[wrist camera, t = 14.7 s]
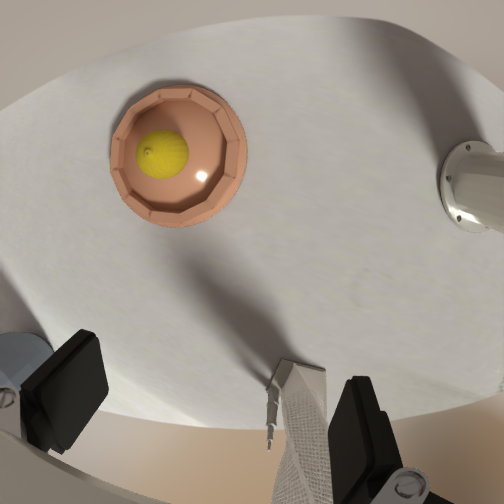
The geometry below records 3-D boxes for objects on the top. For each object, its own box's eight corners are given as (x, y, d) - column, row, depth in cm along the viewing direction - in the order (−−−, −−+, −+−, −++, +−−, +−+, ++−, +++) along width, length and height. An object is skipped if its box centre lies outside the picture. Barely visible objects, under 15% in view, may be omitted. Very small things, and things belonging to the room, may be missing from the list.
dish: (254, 88, 32) (252, 82, 30) (240, 233, 38) (237, 238, 35) (121, 90, 34) (112, 86, 31) (112, 219, 39) (103, 222, 36)
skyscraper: (284, 350, 42) (274, 538, 15) (336, 363, 41) (364, 539, 15) (266, 391, 44) (245, 556, 17) (314, 402, 44) (321, 561, 17)
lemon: (147, 150, 35) (114, 148, 27) (182, 123, 33) (155, 114, 26) (169, 186, 36) (140, 192, 28) (206, 160, 34) (184, 159, 27)
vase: (18, 361, 52) (-43, 417, 28) (9, 293, 46) (-74, 347, 23) (80, 403, 51) (24, 478, 28) (78, 337, 46) (-6, 421, 22)
